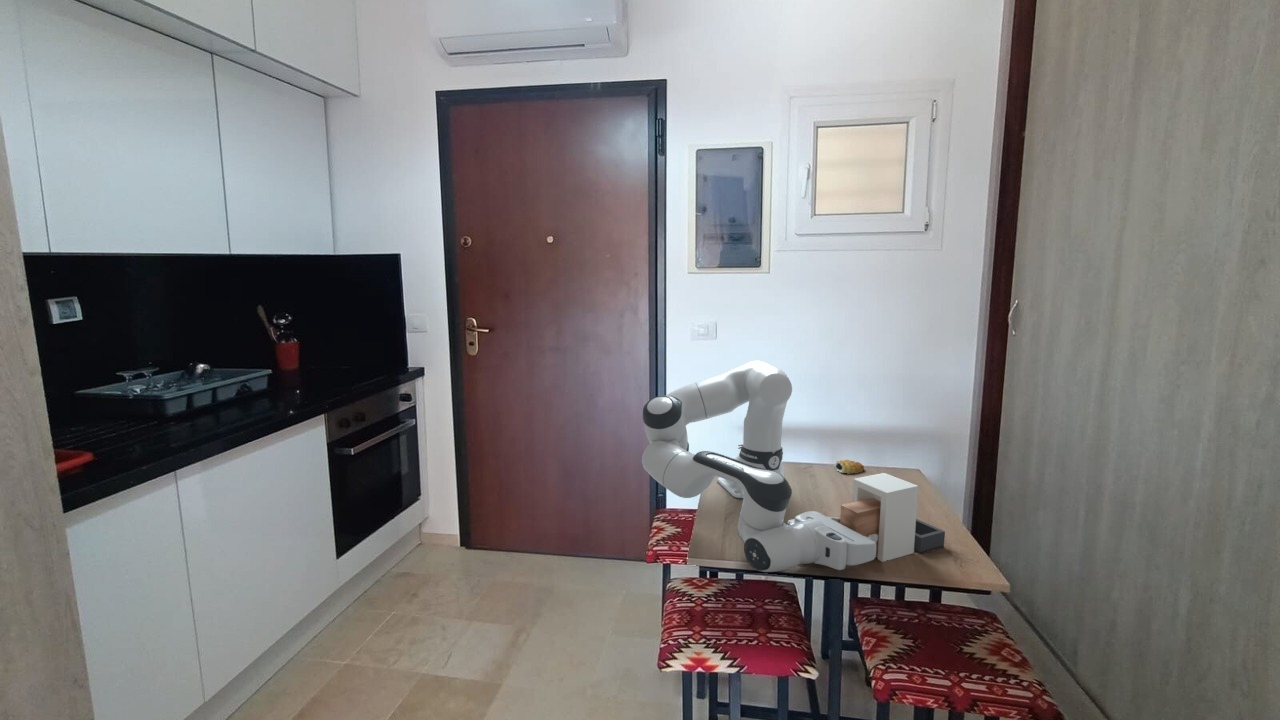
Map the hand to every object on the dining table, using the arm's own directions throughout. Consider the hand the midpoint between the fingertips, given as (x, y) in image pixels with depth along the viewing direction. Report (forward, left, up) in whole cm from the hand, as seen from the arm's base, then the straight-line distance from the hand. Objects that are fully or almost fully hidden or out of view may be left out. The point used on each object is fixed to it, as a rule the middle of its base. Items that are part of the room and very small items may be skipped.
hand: (859, 528), depth 138 cm
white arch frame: (0, +8, -7) cm, 10 cm away
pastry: (-46, +42, -7) cm, 62 cm away
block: (0, +2, -7) cm, 7 cm away
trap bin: (0, +18, -7) cm, 19 cm away
